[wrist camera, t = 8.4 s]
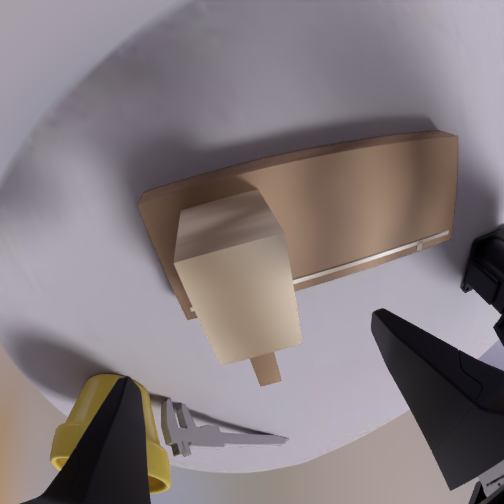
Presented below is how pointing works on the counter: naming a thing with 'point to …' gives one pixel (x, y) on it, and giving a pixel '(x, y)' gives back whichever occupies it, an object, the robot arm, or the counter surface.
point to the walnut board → (329, 203)
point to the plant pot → (83, 415)
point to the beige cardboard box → (239, 280)
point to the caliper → (205, 433)
